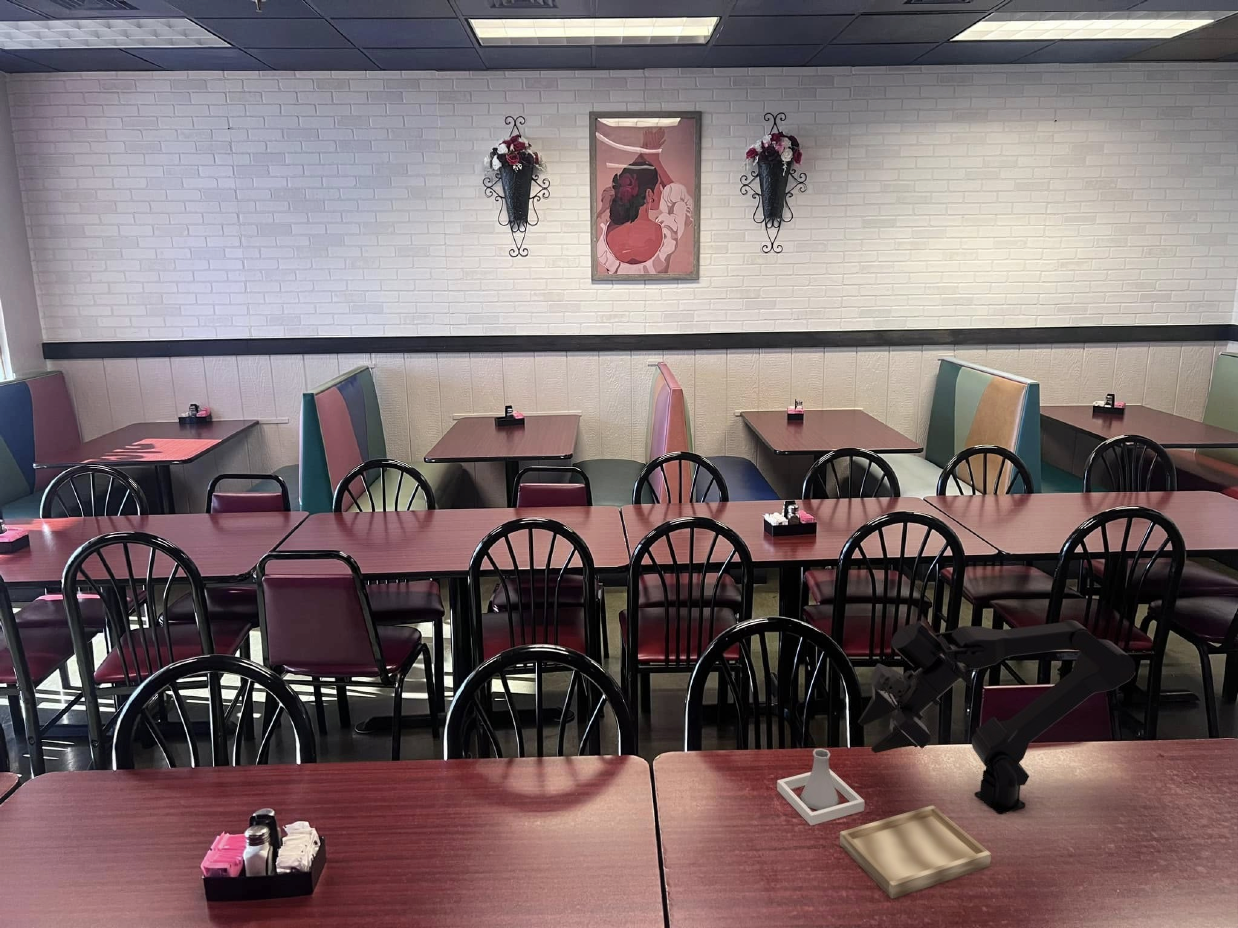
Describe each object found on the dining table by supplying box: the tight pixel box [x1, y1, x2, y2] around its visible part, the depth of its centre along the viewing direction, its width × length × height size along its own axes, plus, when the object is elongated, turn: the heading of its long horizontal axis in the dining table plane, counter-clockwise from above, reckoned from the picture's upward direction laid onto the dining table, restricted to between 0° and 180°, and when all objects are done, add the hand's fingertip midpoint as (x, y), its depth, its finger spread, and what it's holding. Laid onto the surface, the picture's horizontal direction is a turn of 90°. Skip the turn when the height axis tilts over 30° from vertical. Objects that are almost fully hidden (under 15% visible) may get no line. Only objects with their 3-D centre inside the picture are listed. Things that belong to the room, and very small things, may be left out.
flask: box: [799, 748, 840, 811], centre depth 156 cm, size 7×7×10 cm
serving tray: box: [839, 804, 992, 900], centre depth 141 cm, size 20×14×2 cm
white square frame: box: [776, 768, 866, 826], centre depth 156 cm, size 12×12×2 cm
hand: (866, 737), depth 153 cm, fingers open, 9 cm apart
